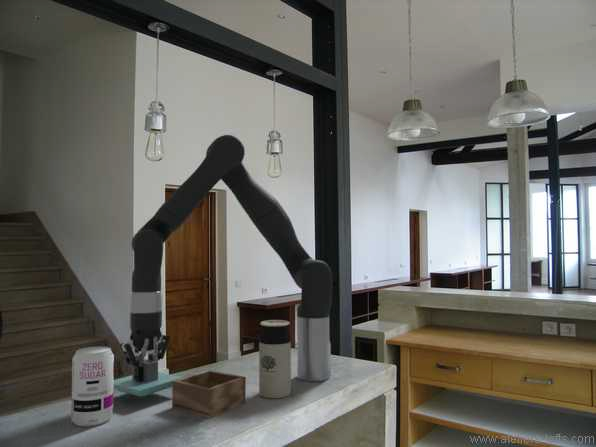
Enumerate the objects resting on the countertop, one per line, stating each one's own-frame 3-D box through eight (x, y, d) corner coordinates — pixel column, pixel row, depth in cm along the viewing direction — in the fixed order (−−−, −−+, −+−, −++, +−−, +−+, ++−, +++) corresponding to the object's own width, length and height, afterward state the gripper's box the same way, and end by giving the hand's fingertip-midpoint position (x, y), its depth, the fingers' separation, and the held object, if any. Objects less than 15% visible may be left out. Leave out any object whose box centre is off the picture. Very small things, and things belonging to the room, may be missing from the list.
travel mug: (274, 387, 124) (274, 318, 125) (297, 393, 119) (297, 321, 120) (252, 394, 118) (252, 322, 119) (276, 401, 113) (275, 325, 114)
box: (209, 393, 119) (209, 369, 119) (245, 402, 112) (245, 377, 112) (172, 407, 109) (172, 381, 109) (209, 417, 102) (209, 389, 102)
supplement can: (100, 410, 107) (101, 344, 108) (120, 419, 102) (121, 349, 102) (64, 421, 101) (65, 350, 101) (82, 430, 95) (84, 356, 96)
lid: (149, 378, 125) (149, 353, 126) (183, 386, 118) (183, 359, 118) (105, 391, 114) (106, 363, 115) (139, 400, 107) (139, 370, 107)
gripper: (159, 305, 125) (158, 371, 124) (112, 311, 113) (111, 384, 112) (178, 307, 121) (177, 375, 120) (131, 314, 109) (130, 389, 108)
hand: (145, 379), depth 116 cm, fingers closed on lid, 3 cm apart
